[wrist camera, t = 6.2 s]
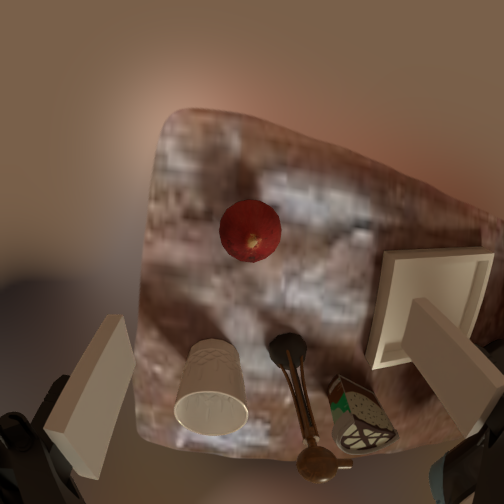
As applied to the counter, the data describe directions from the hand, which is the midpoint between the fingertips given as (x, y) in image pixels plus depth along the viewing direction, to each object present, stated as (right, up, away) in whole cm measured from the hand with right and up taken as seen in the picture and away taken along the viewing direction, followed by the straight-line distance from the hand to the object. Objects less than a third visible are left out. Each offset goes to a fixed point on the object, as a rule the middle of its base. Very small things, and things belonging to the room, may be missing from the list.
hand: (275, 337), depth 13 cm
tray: (+24, -3, +25) cm, 35 cm away
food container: (+13, -19, +30) cm, 38 cm away
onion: (-1, +7, +20) cm, 21 cm away
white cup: (-6, -10, +26) cm, 28 cm away
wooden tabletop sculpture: (+4, -9, +26) cm, 27 cm away
